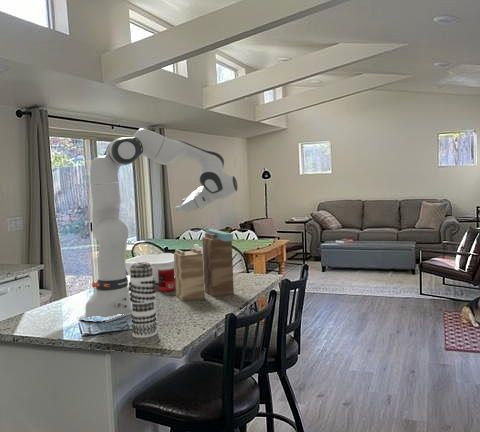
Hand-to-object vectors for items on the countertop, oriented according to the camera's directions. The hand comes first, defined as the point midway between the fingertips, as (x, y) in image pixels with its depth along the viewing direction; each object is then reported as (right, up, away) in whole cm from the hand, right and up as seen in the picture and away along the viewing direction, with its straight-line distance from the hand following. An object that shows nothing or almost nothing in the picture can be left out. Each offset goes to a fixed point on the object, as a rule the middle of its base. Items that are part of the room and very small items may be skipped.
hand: (179, 205), depth 234 cm
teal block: (+18, -15, -3) cm, 24 cm away
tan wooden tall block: (+5, -42, -3) cm, 42 cm away
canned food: (-8, -41, +13) cm, 44 cm away
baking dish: (-17, -40, +36) cm, 57 cm away
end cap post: (+18, -41, +2) cm, 45 cm away
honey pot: (+7, -39, +42) cm, 58 cm away
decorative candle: (-5, -46, -57) cm, 74 cm away
